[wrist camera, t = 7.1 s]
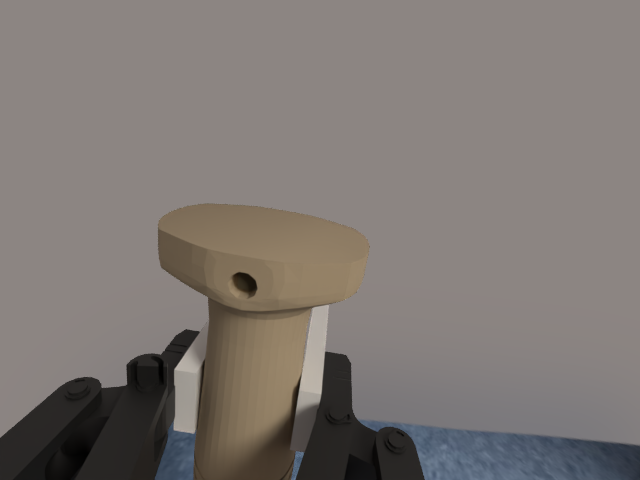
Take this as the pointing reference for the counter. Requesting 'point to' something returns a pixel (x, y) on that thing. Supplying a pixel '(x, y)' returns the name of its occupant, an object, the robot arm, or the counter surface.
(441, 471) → the counter surface
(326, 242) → the handle
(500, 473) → the counter surface
